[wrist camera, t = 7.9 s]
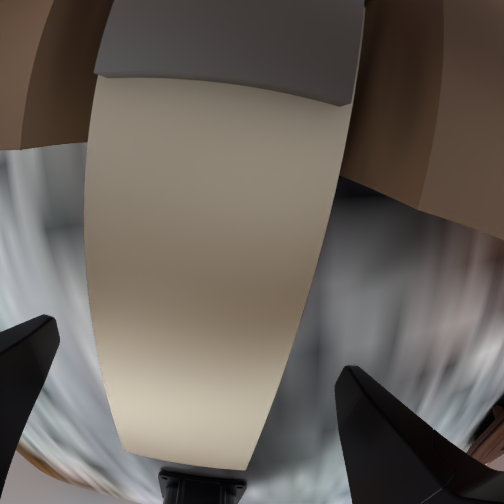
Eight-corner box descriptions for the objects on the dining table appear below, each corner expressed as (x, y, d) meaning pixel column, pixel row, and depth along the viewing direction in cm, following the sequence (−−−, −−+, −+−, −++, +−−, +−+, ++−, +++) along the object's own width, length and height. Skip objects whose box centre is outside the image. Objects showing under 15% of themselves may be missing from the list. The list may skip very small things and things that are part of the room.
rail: (243, 371, 12) (245, 482, 7) (153, 357, 12) (120, 462, 7) (307, 58, 8) (378, -20, 3) (184, 40, 7) (124, -49, 2)
